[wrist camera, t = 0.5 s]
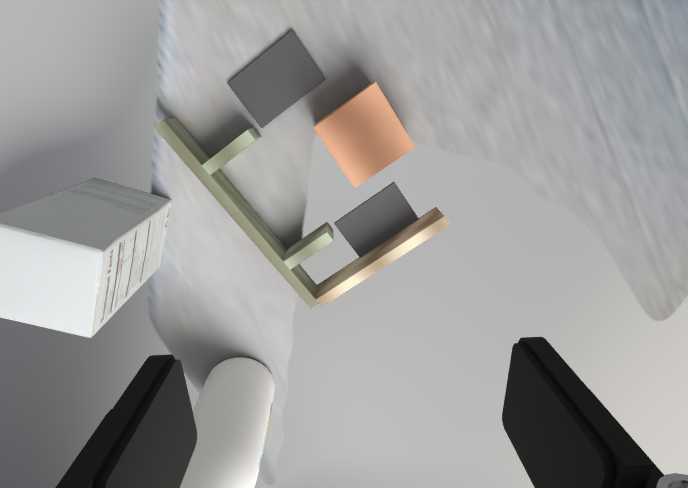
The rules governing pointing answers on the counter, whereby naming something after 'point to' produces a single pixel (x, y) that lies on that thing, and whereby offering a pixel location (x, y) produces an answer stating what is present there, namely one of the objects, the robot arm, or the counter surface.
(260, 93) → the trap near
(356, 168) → the block
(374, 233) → the plate
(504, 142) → the counter surface
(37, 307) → the supplement box
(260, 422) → the milk bottle
